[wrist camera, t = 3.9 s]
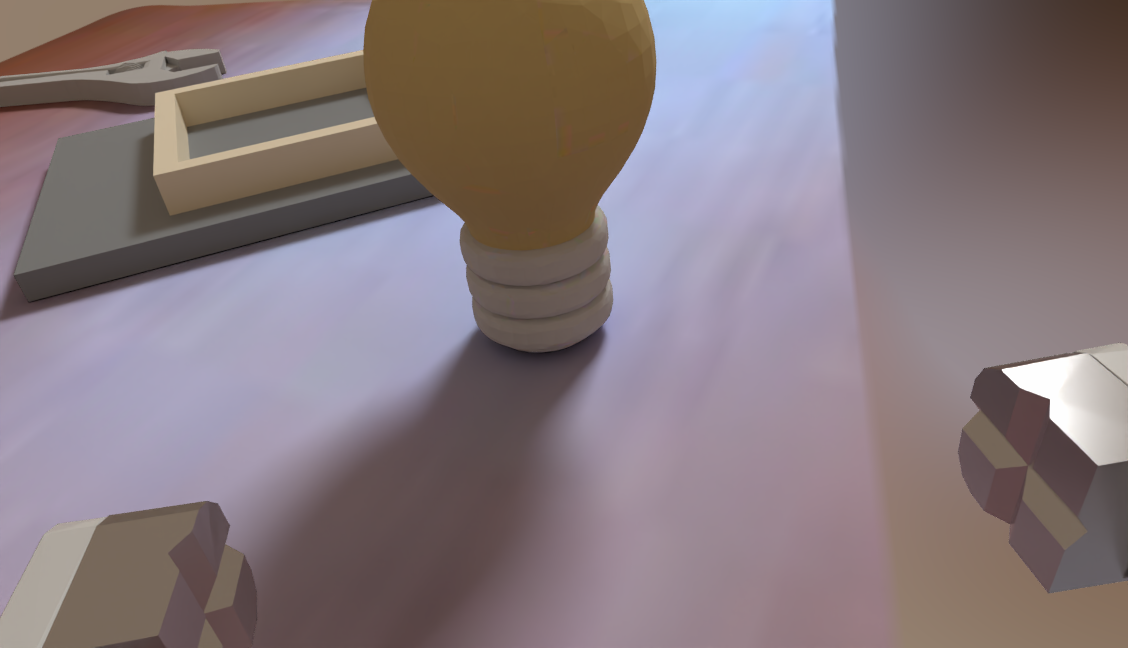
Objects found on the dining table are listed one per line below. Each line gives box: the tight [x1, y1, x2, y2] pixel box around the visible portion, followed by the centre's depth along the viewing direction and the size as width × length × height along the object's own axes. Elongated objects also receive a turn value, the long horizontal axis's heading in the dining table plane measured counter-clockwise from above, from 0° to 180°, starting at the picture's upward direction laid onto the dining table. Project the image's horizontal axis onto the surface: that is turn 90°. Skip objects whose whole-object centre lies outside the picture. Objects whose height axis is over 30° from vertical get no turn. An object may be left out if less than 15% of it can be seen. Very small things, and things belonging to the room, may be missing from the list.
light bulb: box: [363, 0, 656, 352], centre depth 19 cm, size 6×6×10 cm
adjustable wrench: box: [0, 49, 227, 107], centre depth 46 cm, size 25×6×2 cm, turn 82°
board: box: [14, 50, 433, 302], centre depth 33 cm, size 20×14×2 cm
